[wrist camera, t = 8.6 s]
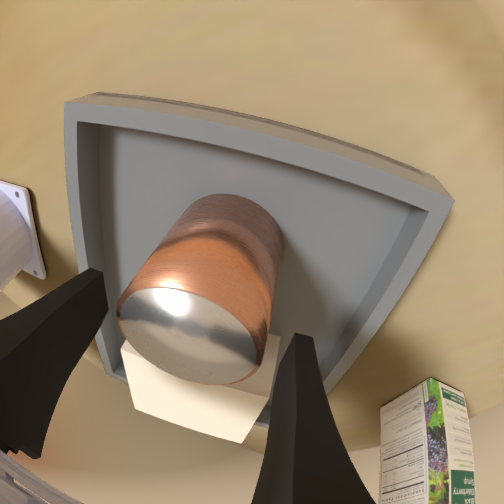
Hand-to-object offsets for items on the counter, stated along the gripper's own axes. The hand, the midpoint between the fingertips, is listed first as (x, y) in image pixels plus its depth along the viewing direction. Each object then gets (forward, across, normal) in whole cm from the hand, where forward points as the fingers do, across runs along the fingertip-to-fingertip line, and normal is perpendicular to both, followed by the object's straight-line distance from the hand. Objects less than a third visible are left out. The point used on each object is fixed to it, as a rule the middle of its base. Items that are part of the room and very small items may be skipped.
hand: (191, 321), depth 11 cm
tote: (+6, 0, +4) cm, 7 cm away
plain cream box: (+5, 0, +9) cm, 11 cm away
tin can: (+5, 0, 0) cm, 5 cm away
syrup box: (+6, -18, +10) cm, 22 cm away
